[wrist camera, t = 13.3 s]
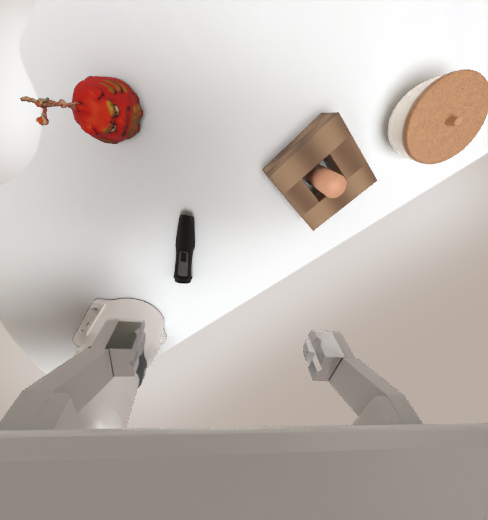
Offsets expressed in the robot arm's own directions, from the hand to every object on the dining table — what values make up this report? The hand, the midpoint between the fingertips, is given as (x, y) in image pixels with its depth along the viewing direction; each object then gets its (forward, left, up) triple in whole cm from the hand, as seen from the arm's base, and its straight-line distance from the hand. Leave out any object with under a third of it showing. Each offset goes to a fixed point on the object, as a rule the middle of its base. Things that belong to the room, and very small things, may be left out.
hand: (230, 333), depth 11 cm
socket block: (+12, -9, -33) cm, 36 cm away
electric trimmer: (-15, -4, -34) cm, 37 cm away
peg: (+12, -9, -33) cm, 36 cm away
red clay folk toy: (-4, +17, -33) cm, 38 cm away
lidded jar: (+28, -14, -33) cm, 46 cm away
